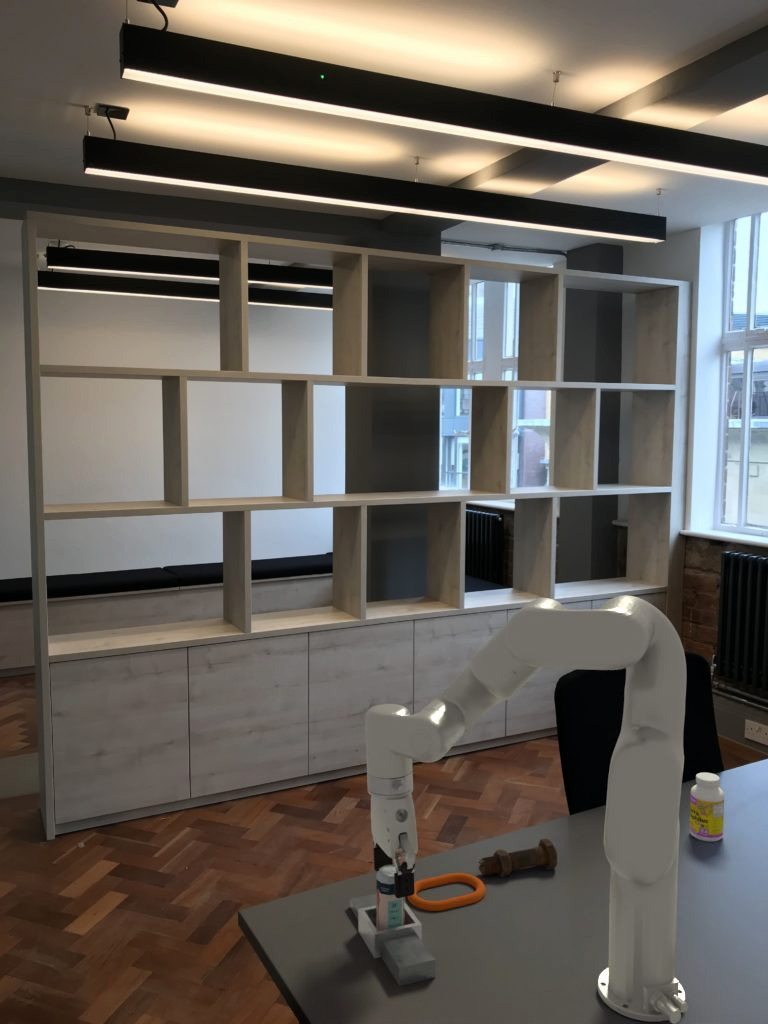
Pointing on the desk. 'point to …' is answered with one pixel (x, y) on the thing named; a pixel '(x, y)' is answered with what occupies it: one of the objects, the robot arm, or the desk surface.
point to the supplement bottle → (707, 808)
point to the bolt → (519, 859)
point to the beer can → (388, 900)
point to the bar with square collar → (395, 942)
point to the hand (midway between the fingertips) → (393, 882)
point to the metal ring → (448, 902)
